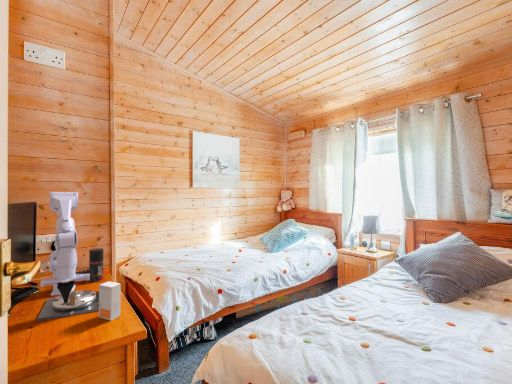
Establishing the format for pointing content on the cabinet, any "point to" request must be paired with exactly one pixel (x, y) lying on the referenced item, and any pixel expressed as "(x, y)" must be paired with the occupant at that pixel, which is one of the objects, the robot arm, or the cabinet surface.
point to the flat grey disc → (75, 300)
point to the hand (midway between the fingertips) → (66, 302)
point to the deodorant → (96, 264)
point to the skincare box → (109, 300)
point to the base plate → (52, 313)
